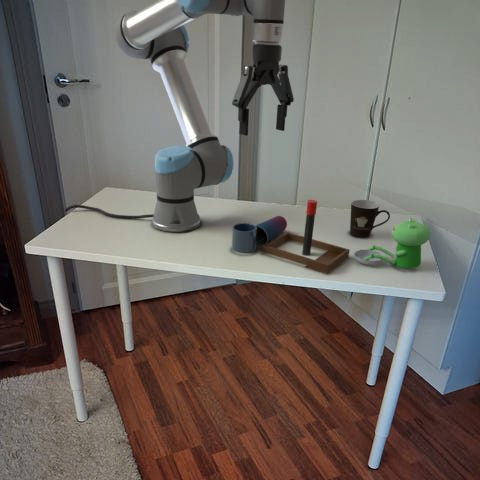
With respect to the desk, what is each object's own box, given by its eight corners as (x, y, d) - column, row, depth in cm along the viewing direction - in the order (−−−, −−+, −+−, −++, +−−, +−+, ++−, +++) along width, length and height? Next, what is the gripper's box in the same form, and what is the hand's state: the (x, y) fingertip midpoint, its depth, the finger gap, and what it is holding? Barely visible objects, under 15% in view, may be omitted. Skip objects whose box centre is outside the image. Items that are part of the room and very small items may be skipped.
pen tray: (262, 253, 137) (263, 245, 135) (286, 239, 146) (287, 232, 145) (327, 274, 127) (328, 265, 125) (348, 257, 136) (349, 249, 135)
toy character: (359, 255, 141) (363, 212, 134) (424, 260, 136) (431, 216, 129) (357, 268, 133) (361, 224, 126) (425, 274, 128) (433, 228, 121)
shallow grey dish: (353, 265, 132) (354, 259, 131) (353, 254, 138) (354, 248, 137) (382, 269, 130) (383, 262, 129) (381, 257, 137) (383, 251, 136)
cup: (287, 236, 150) (265, 251, 139) (268, 230, 153) (245, 244, 141) (291, 216, 147) (269, 229, 135) (272, 210, 149) (249, 222, 138)
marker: (299, 254, 136) (305, 201, 128) (304, 251, 138) (310, 199, 129) (308, 256, 135) (314, 203, 126) (312, 253, 136) (318, 201, 128)
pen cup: (226, 250, 138) (227, 228, 134) (240, 243, 143) (241, 221, 139) (246, 257, 134) (247, 234, 131) (260, 249, 139) (261, 226, 136)
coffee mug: (341, 234, 152) (345, 203, 147) (355, 227, 158) (360, 197, 152) (373, 244, 145) (379, 213, 140) (386, 237, 151) (393, 206, 146)
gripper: (238, 44, 111) (236, 139, 122) (311, 44, 125) (303, 130, 136) (219, 42, 116) (218, 134, 127) (291, 43, 130) (285, 126, 141)
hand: (262, 132), depth 131 cm, fingers open, 13 cm apart
